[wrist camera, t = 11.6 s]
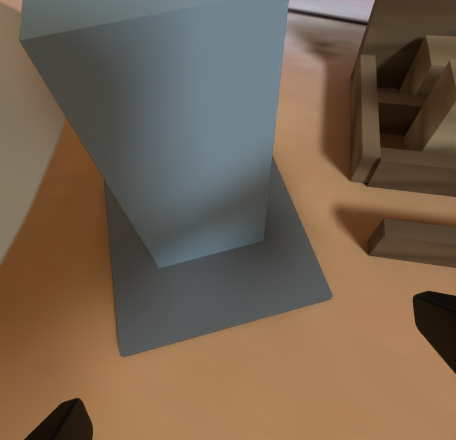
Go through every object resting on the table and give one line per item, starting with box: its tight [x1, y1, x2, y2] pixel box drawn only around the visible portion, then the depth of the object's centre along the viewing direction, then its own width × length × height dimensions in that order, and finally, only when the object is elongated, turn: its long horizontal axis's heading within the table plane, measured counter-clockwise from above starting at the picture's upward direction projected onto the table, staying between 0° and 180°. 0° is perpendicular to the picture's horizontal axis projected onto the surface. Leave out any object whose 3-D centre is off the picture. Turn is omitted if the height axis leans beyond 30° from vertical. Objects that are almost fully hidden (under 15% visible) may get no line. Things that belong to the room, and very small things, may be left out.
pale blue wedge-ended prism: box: [19, 0, 289, 268], centre depth 14 cm, size 3×6×13 cm, turn 105°
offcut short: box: [398, 35, 456, 96], centre depth 22 cm, size 3×5×4 cm, turn 80°
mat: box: [104, 156, 333, 357], centre depth 20 cm, size 11×11×1 cm
